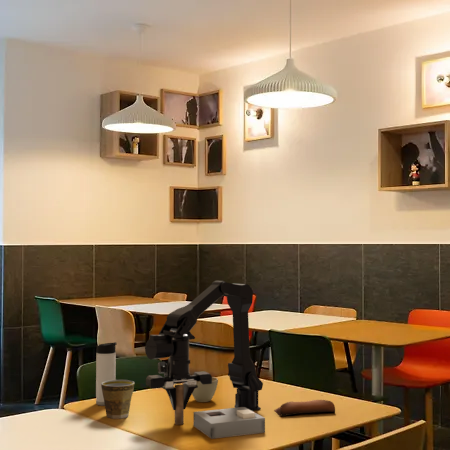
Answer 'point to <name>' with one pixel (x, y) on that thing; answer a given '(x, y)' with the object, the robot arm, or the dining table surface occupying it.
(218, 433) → the panel
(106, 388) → the ceramic cup
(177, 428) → the dining table surface
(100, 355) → the travel mug
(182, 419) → the tan rounded rod
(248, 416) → the on button
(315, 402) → the sunglasses case
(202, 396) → the flower pot
